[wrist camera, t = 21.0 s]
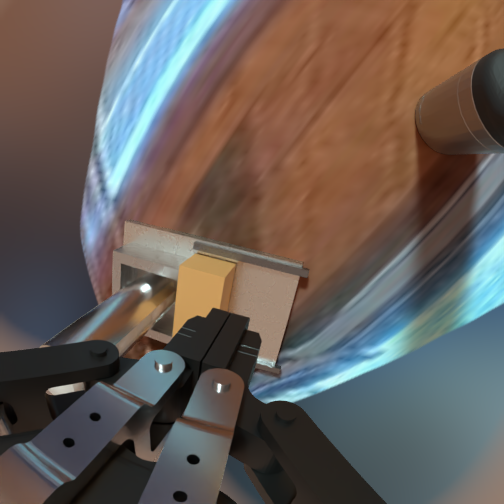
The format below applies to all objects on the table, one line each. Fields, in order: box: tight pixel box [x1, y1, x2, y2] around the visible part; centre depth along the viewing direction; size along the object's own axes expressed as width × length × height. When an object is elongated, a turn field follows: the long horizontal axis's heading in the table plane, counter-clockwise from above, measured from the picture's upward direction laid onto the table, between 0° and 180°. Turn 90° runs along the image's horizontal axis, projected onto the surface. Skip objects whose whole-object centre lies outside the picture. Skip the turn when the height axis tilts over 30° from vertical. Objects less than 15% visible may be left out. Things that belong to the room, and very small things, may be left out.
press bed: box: [112, 220, 309, 374], centre depth 44 cm, size 28×18×6 cm, turn 79°
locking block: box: [172, 253, 236, 338], centre depth 43 cm, size 6×14×6 cm, turn 169°
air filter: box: [40, 272, 178, 395], centre depth 35 cm, size 6×6×25 cm
